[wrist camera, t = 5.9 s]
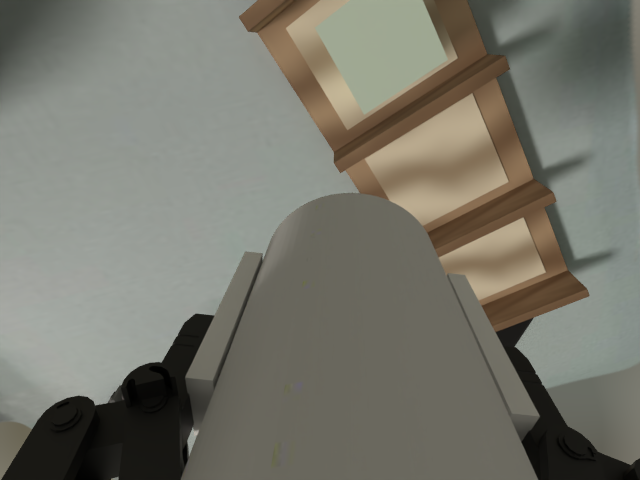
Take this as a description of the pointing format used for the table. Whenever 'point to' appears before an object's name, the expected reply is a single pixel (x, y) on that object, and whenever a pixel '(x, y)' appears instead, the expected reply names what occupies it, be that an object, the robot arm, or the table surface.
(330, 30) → the sage block
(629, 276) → the table surface
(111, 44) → the table surface
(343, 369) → the white cylinder
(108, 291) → the table surface
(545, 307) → the frame
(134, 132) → the table surface
